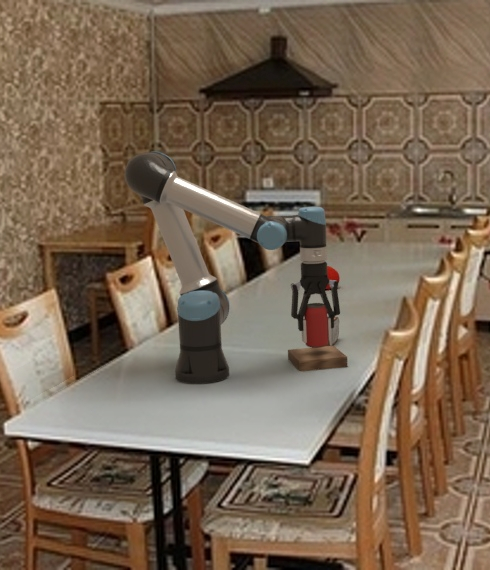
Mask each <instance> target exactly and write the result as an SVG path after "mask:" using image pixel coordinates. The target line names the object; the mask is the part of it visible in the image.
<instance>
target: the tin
mask: <svg viewBox="0 0 490 570" xmlns="http://www.w3.org/2000/svg"><path fill="white" fill-rule="evenodd" d="M339 333H340V319H339V317H338V316H335V317H334V328H331V340H330V341H329V340H328V345H327V346H334V344H336V343H337V342H338V340H339Z"/></svg>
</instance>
